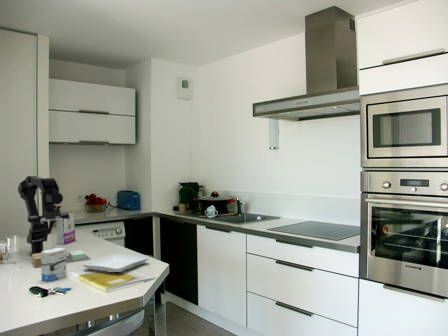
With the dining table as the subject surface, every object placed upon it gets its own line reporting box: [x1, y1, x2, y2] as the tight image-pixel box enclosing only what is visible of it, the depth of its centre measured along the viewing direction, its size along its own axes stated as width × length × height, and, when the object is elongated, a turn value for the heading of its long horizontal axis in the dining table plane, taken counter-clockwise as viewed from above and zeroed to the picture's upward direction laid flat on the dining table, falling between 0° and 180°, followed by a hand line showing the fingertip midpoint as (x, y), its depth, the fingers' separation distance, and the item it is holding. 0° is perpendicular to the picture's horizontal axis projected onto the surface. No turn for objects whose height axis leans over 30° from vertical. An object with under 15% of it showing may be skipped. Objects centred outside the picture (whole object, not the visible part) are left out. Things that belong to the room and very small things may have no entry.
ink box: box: [40, 247, 68, 283], centre depth 157 cm, size 8×5×12 cm, turn 148°
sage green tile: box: [68, 249, 86, 260], centre depth 189 cm, size 9×6×2 cm, turn 34°
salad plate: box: [82, 253, 149, 273], centre depth 172 cm, size 21×21×3 cm
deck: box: [31, 253, 41, 268], centre depth 182 cm, size 12×13×4 cm
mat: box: [66, 253, 91, 264], centre depth 189 cm, size 13×12×1 cm
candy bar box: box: [55, 213, 76, 246], centre depth 228 cm, size 11×5×16 cm, turn 168°
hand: (49, 234), depth 192 cm, fingers closed
